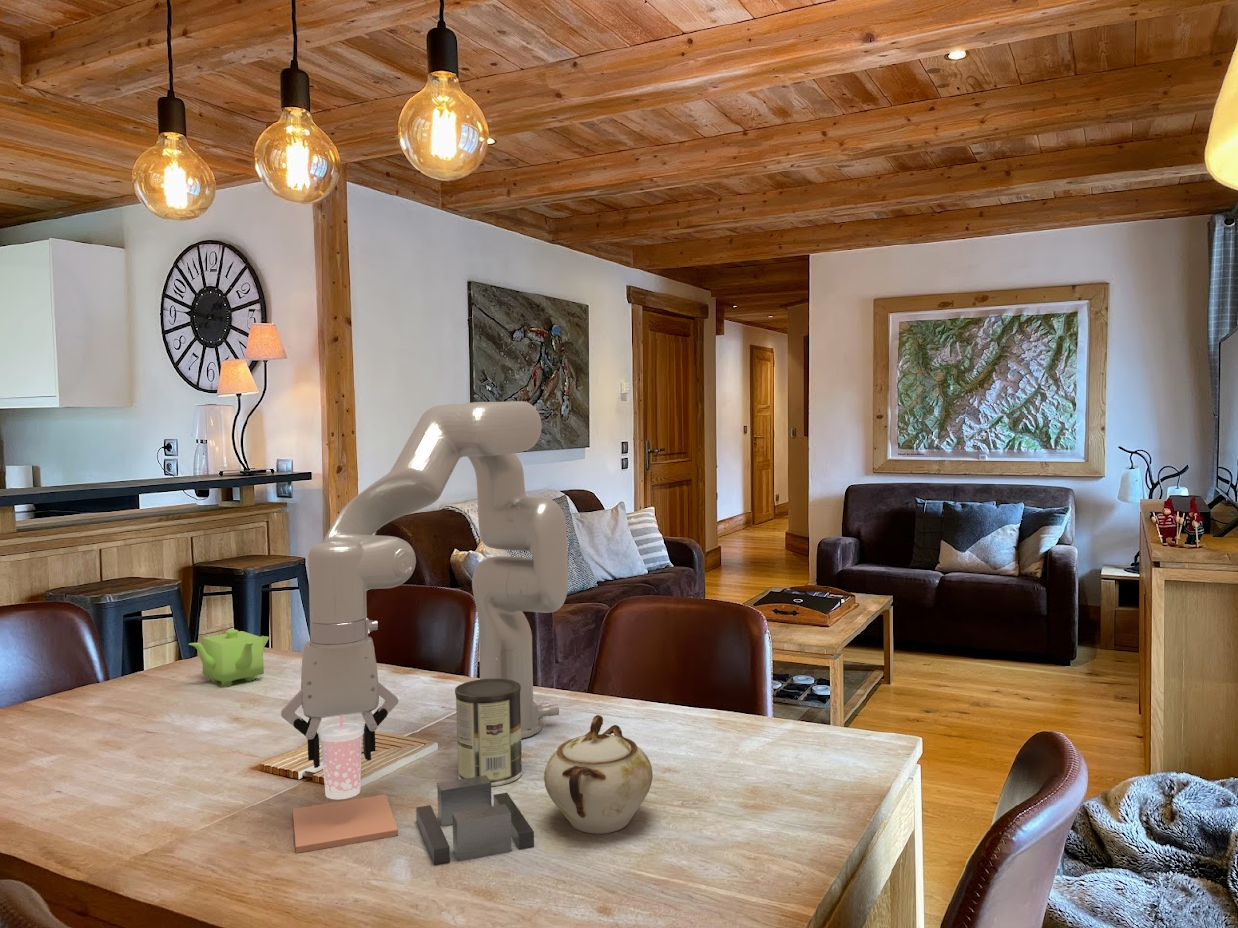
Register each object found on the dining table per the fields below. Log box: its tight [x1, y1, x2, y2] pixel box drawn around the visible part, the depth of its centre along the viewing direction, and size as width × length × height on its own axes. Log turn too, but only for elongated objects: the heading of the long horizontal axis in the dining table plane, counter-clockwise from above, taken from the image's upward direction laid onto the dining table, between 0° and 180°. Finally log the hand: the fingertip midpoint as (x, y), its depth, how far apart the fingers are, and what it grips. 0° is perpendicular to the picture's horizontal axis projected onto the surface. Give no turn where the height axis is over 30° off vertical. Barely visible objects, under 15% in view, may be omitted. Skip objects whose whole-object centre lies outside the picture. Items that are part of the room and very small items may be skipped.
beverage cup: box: [317, 716, 365, 800], centre depth 126 cm, size 6×6×14 cm
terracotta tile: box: [292, 794, 399, 854], centre depth 126 cm, size 13×13×1 cm
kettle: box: [187, 629, 270, 687], centre depth 202 cm, size 15×14×11 cm
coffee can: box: [454, 678, 524, 787], centre depth 144 cm, size 10×10×14 cm
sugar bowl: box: [543, 714, 654, 835], centre depth 126 cm, size 20×15×15 cm
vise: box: [415, 775, 535, 866], centre depth 123 cm, size 13×14×5 cm
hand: (342, 759), depth 126 cm, fingers closed on beverage cup, 6 cm apart
